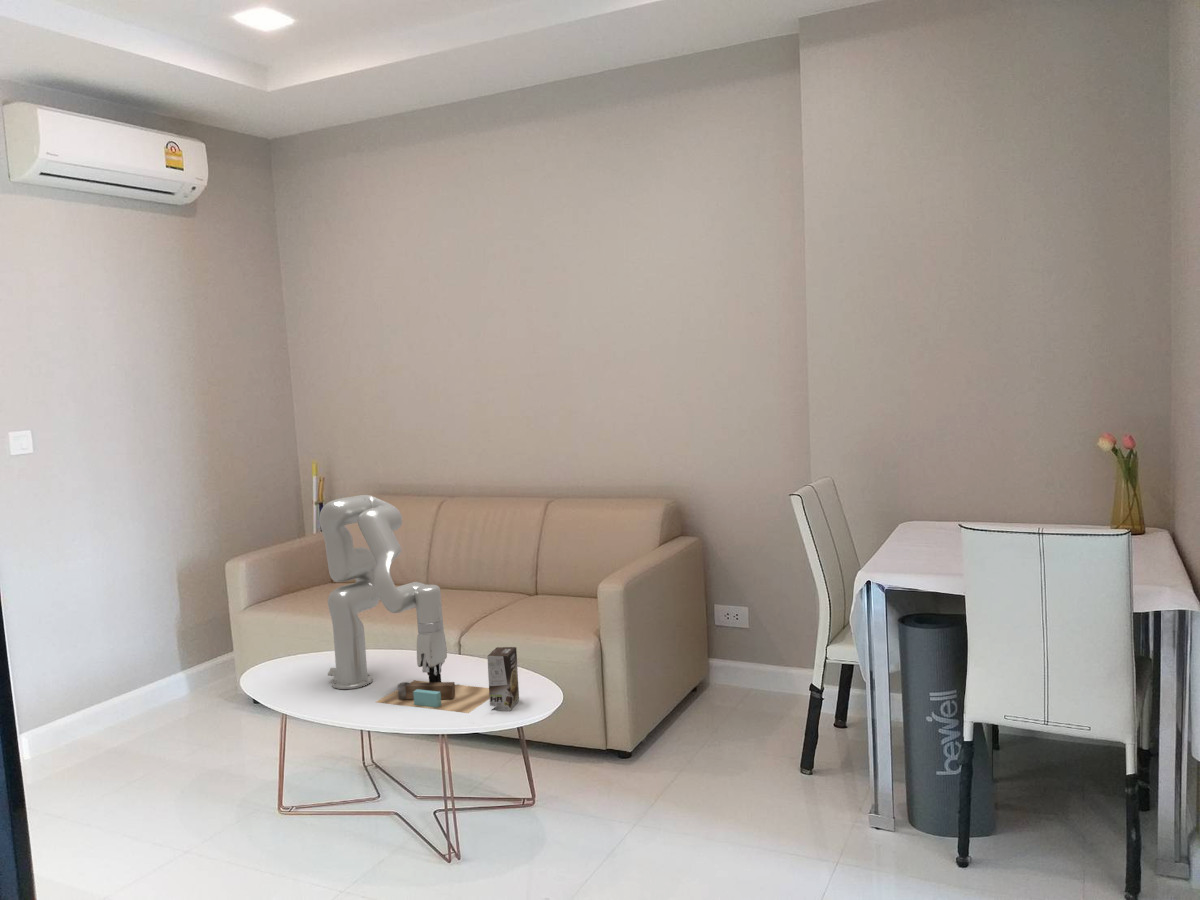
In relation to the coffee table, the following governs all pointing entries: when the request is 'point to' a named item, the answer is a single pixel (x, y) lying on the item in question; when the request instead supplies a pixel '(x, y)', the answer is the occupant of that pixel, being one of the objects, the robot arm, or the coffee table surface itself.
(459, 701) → the stool top
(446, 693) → the folding leg
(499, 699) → the coffee box
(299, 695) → the coffee table surface
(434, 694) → the stop block
